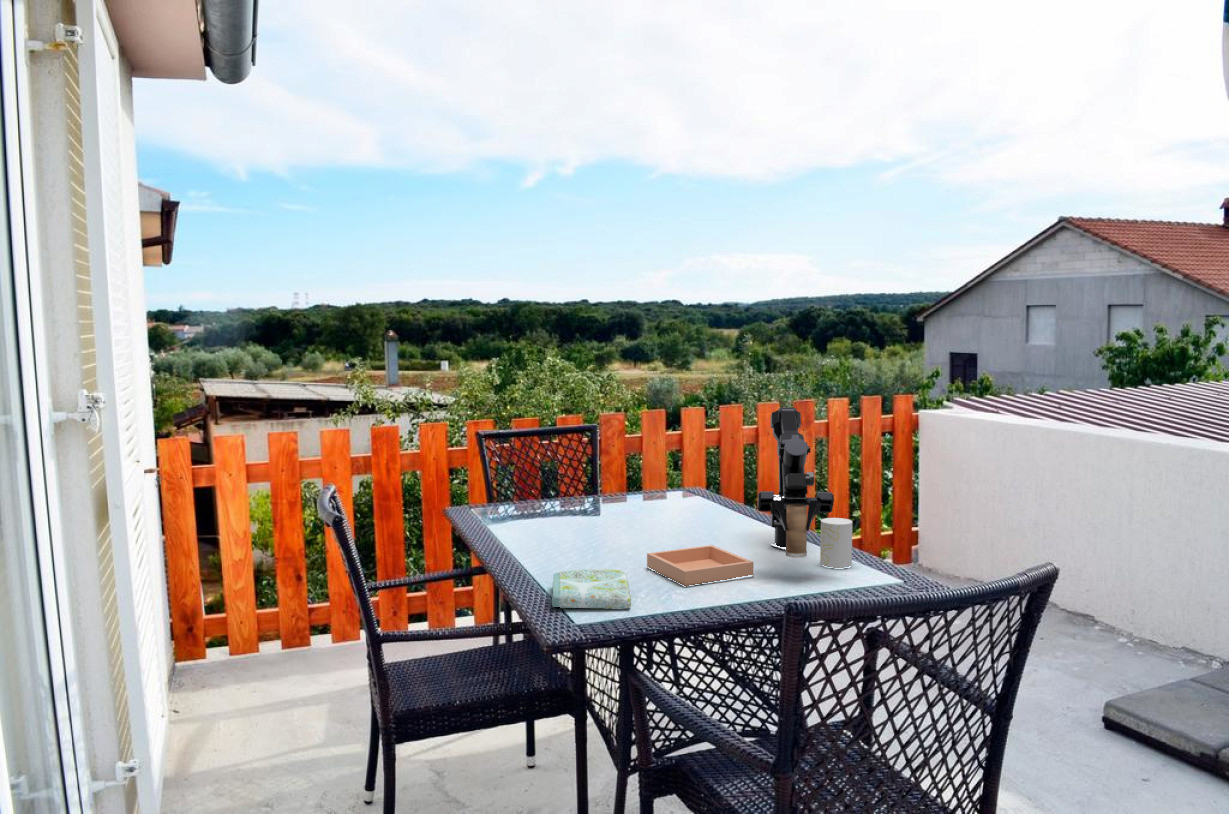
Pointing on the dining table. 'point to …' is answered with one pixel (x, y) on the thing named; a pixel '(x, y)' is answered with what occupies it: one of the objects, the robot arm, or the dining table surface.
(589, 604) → the towel
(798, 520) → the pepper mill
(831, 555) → the light grey cylinder
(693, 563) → the bin
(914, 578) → the dining table surface
